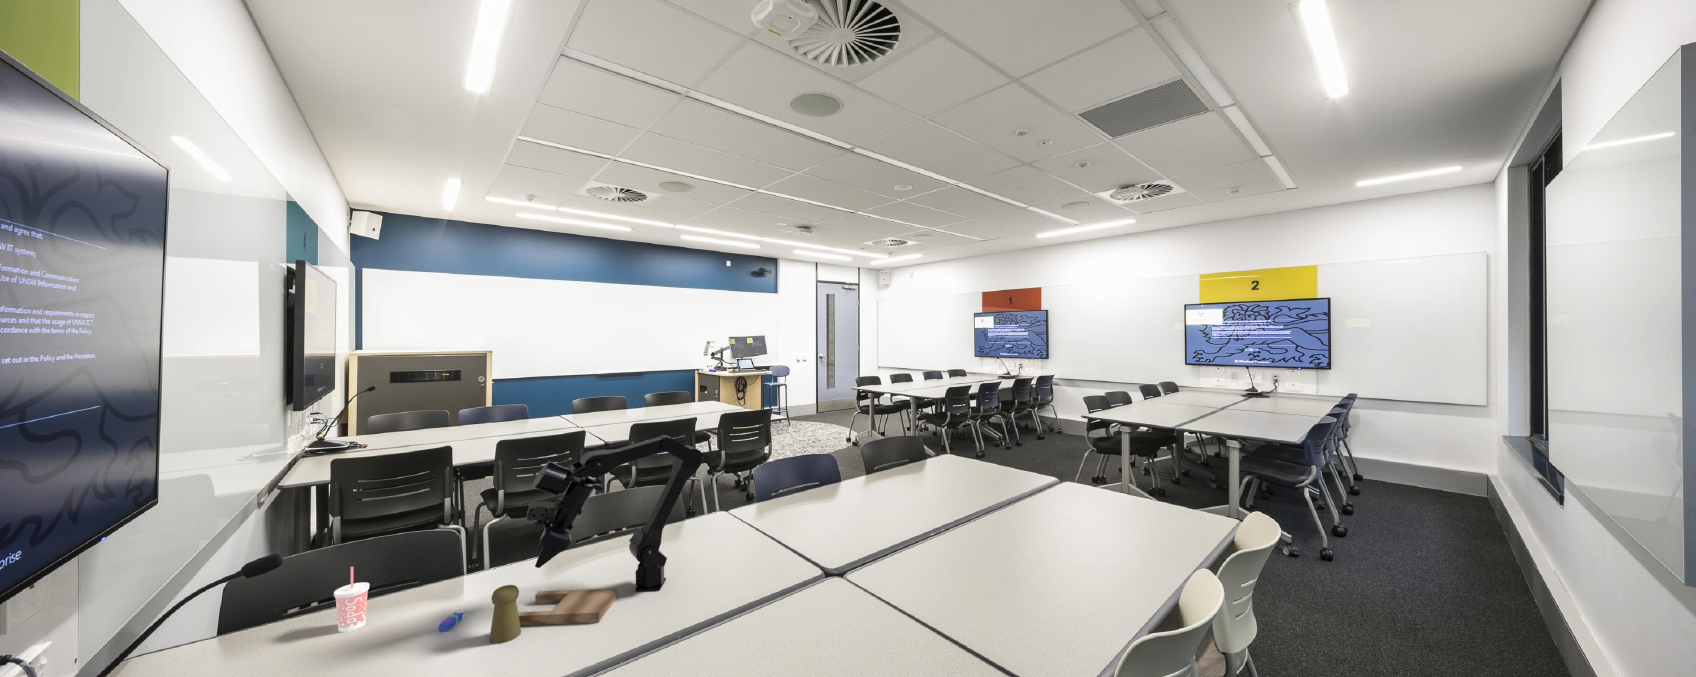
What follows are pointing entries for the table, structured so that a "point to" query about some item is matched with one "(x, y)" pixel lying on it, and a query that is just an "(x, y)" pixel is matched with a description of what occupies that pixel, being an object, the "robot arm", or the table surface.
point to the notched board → (570, 607)
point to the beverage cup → (351, 605)
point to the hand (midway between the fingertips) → (538, 558)
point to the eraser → (451, 621)
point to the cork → (505, 615)
